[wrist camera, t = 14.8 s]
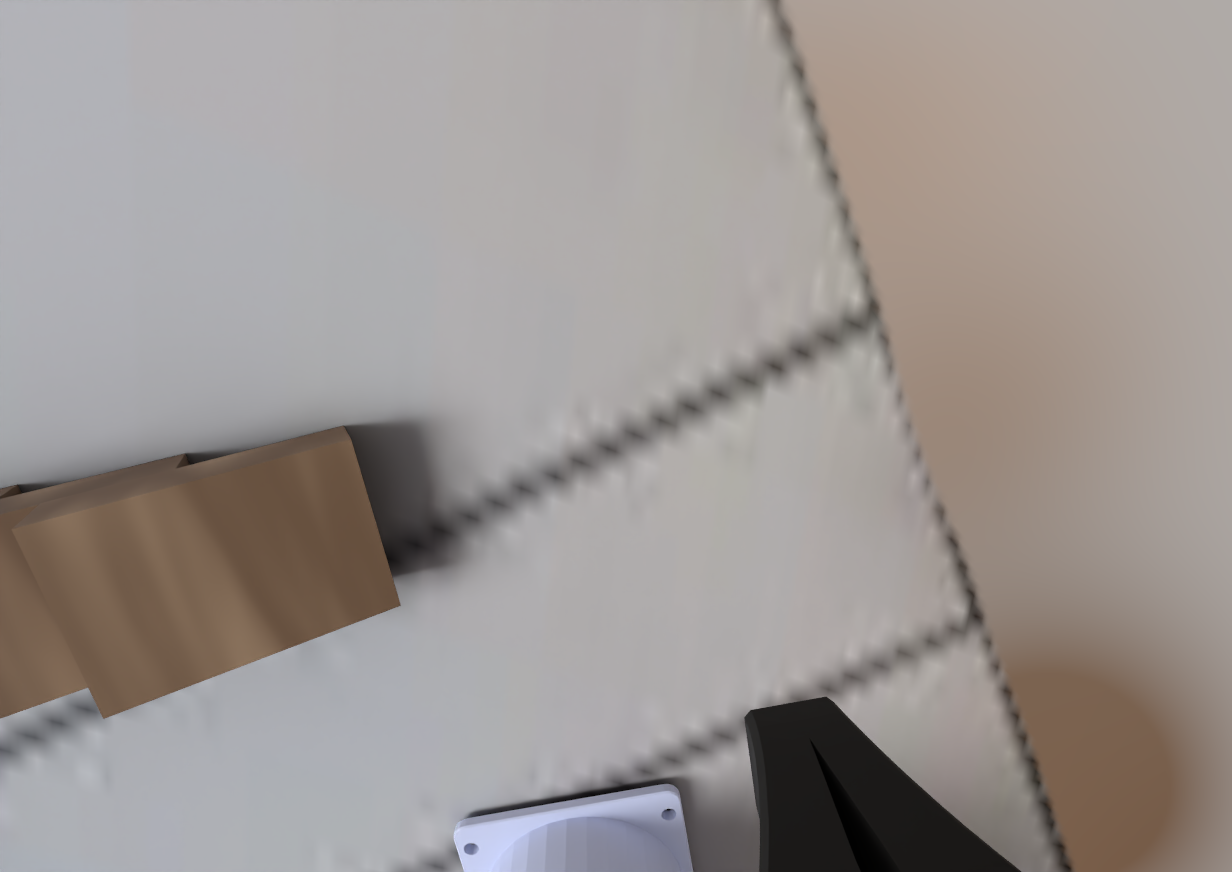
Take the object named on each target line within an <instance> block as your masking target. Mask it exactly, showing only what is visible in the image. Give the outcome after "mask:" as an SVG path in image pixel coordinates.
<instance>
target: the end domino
mask: <svg viewBox="0 0 1232 872" xmlns="http://www.w3.org/2000/svg"><path fill="white" fill-rule="evenodd" d="M11 530H12V532H13V534H14V536H15V538H16V540H17V542H18V544H19V546H20V548H21V550H22V552H23V554H24V556H25V558H26V561H27V563H28V565H29V567H30V569H31V571H32V573H33V575H34V577H35V579H36V581H37V583H38V585H39V587H40V589H41V591H42V593H43V595H44V598H45V600H46V602H47V604H48V606H49V608H50V610H51V612H52V614H53V616H54V618H55V620H56V622H57V624H58V626H59V628H60V630H61V632H62V634H63V637H64V639H65V641H66V643H67V645H68V647H69V649H70V651H71V653H72V655H73V657H74V659H75V661H76V663H77V665H78V667H79V669H80V671H81V674H82V676H83V678H84V680H85V682H86V684H87V686H88V688H89V690H90V692H91V694H92V696H93V698H94V700H95V702H96V704H97V706H98V708H99V711H100V713H101V715H102V717H103V719H104V718H107V717H109V716H112V715H115V714H117V713H120V712H123V711H125V710H128V709H130V708H133V707H136V706H138V705H141V704H144V703H146V702H149V701H151V700H154V699H157V698H159V697H162V696H165V695H167V694H170V693H172V692H175V691H178V690H180V689H183V688H186V687H188V686H191V685H193V684H196V683H199V682H201V681H204V680H206V679H209V678H212V677H214V676H217V675H220V674H222V673H225V672H227V671H230V670H233V669H235V668H238V667H241V666H243V665H246V664H248V663H251V662H254V661H256V660H259V659H262V658H264V657H267V656H269V655H272V654H275V653H277V652H280V651H283V650H285V649H288V648H290V647H293V646H296V645H298V644H301V643H303V642H306V641H309V640H311V639H314V638H317V637H319V636H322V635H324V634H327V633H330V632H332V631H335V630H338V629H340V628H343V627H345V626H348V625H351V624H353V623H356V622H359V621H361V620H364V619H366V618H369V617H372V616H374V615H377V614H380V613H382V612H385V611H387V610H390V609H393V608H395V607H398V606H401V605H400V602H399V598H398V595H397V591H396V588H395V585H394V581H393V578H392V575H391V571H390V568H389V565H388V561H387V558H386V555H385V551H384V548H383V545H382V541H381V538H380V535H379V531H378V528H377V524H376V521H375V518H374V514H373V511H372V508H371V504H370V501H369V498H368V494H367V491H366V488H365V484H364V481H363V478H362V474H361V471H360V467H359V464H358V461H357V457H356V454H355V451H354V447H353V444H352V441H351V438H350V436H349V435H348V433H347V431H346V429H345V428H344V426H340V427H336V428H332V429H329V430H325V431H321V432H317V433H313V434H309V435H305V436H301V437H297V438H293V439H289V440H286V441H282V442H278V443H274V444H270V445H266V446H262V447H258V448H254V449H250V450H247V451H243V452H239V453H235V454H231V455H227V456H223V457H219V458H215V459H211V460H207V461H204V462H200V463H196V464H192V465H188V466H184V467H180V468H176V469H172V470H168V471H165V472H161V473H157V474H153V475H149V476H145V477H141V478H137V479H133V480H129V481H125V482H122V483H118V484H114V485H110V486H106V487H102V488H98V489H94V490H90V491H86V492H83V493H79V494H75V495H71V496H67V497H63V498H59V499H55V500H51V501H47V502H43V503H40V504H39V505H38V506H37V507H36V508H35V509H34V510H32V511H31V512H30V513H29V514H28V515H27V516H26V517H25V518H24V519H22V520H21V521H20V522H19V523H18V524H17V525H16V526H15V527H14V528H12V529H11Z"/></svg>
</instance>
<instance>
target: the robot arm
mask: <svg viewBox="0 0 1232 872" xmlns="http://www.w3.org/2000/svg"><path fill="white" fill-rule="evenodd" d="M744 718H745V726H746V733H747V740H748V748H749V755H750V762H751V770H752V777H753V784H754V792H755V799H756V806H757V810H758V814H759V818H760V869H759V872H1021V871H1020V870H1019V869H1017V868H1016V867H1015V866H1014V865H1012V864H1011V863H1010V862H1009V861H1007V860H1006V859H1005V858H1003V857H1002V856H1001V855H1000V854H998V853H997V852H996V851H995V850H994V849H992V848H991V847H990V846H989V845H987V844H986V843H985V842H984V841H983V840H981V839H980V838H979V837H978V836H976V835H975V834H974V833H973V832H972V831H970V830H969V829H968V828H967V827H966V826H964V825H963V824H962V823H961V822H960V821H959V820H957V819H956V818H955V817H954V816H953V815H952V814H950V813H949V812H948V811H947V810H946V809H944V808H943V807H942V806H941V805H940V804H939V803H938V802H937V801H936V800H934V799H933V798H932V797H931V796H930V795H929V794H928V793H927V792H926V791H924V790H923V789H922V788H921V787H920V786H919V785H918V784H917V783H915V782H914V781H913V780H912V779H911V778H910V777H909V776H908V775H907V774H906V773H904V772H903V771H902V770H901V769H900V768H899V767H898V766H897V765H896V764H895V763H894V762H893V761H892V760H891V759H890V758H889V757H887V756H886V755H885V754H884V753H883V752H882V751H881V750H880V749H879V748H878V747H877V746H876V745H875V744H874V743H873V742H872V741H871V740H870V739H869V738H868V737H867V736H866V735H865V734H864V733H863V732H862V731H861V730H860V729H859V728H858V727H857V726H856V725H855V724H854V723H853V722H852V721H851V720H850V719H849V718H848V717H847V716H846V715H845V714H844V713H843V712H842V710H841V709H840V708H839V707H838V706H837V705H836V704H835V703H834V702H833V701H831V700H830V699H829V698H827V697H822V698H816V699H811V700H805V701H800V702H794V703H788V704H783V705H777V706H772V707H766V708H760V709H755V710H750V712H749V713H748V714H747V715H746V716H745V717H744ZM666 809H672V810H669V811H664V810H666ZM454 841H455V844H456V847H457V850H458V854H459V857H460V860H461V863H462V866H463V869H464V872H693V868H692V862H691V856H690V850H689V845H688V839H687V833H686V827H685V821H684V816H683V810H682V804H681V798H680V793H679V790H678V789H677V788H676V787H675V786H674V785H671V784H661V785H655V786H649V787H644V788H638V789H632V790H626V791H621V792H615V793H609V794H604V795H598V796H592V797H586V798H581V799H575V800H569V801H563V802H558V803H552V804H546V805H540V806H535V807H529V808H523V809H517V810H512V811H506V812H500V813H494V814H489V815H483V816H477V817H472V818H466V819H463V820H461V821H460V822H458V823H457V825H456V827H455V832H454ZM469 843H474V844H469Z"/></svg>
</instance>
